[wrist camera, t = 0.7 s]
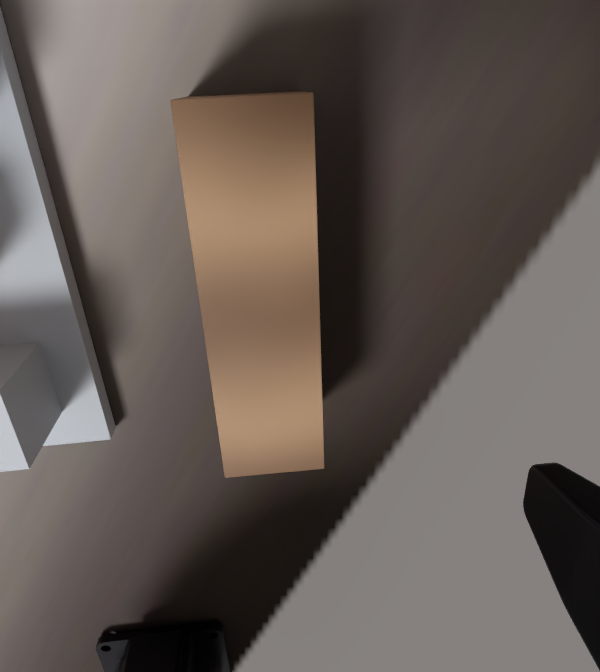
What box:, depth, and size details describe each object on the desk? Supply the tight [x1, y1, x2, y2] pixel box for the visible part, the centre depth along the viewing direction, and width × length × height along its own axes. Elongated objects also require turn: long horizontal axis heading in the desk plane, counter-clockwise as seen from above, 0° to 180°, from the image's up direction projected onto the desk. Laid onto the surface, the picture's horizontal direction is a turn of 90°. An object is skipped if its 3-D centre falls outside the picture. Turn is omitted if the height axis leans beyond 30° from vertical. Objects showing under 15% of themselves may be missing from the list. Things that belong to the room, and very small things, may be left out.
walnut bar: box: [170, 91, 324, 478], centre depth 17 cm, size 12×4×4 cm, turn 3°
